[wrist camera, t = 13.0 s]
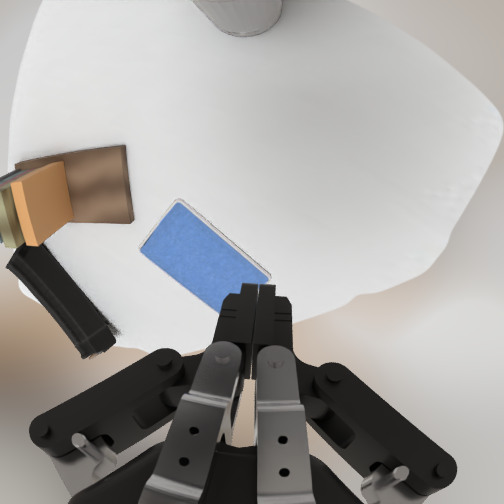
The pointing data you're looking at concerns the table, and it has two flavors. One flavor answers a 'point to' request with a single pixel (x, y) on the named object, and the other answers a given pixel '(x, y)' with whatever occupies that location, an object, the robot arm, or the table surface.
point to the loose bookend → (42, 202)
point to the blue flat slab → (199, 256)
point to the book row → (76, 189)
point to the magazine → (62, 299)
